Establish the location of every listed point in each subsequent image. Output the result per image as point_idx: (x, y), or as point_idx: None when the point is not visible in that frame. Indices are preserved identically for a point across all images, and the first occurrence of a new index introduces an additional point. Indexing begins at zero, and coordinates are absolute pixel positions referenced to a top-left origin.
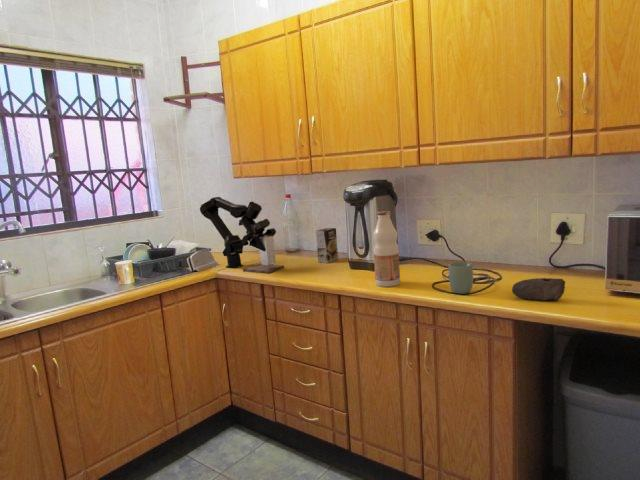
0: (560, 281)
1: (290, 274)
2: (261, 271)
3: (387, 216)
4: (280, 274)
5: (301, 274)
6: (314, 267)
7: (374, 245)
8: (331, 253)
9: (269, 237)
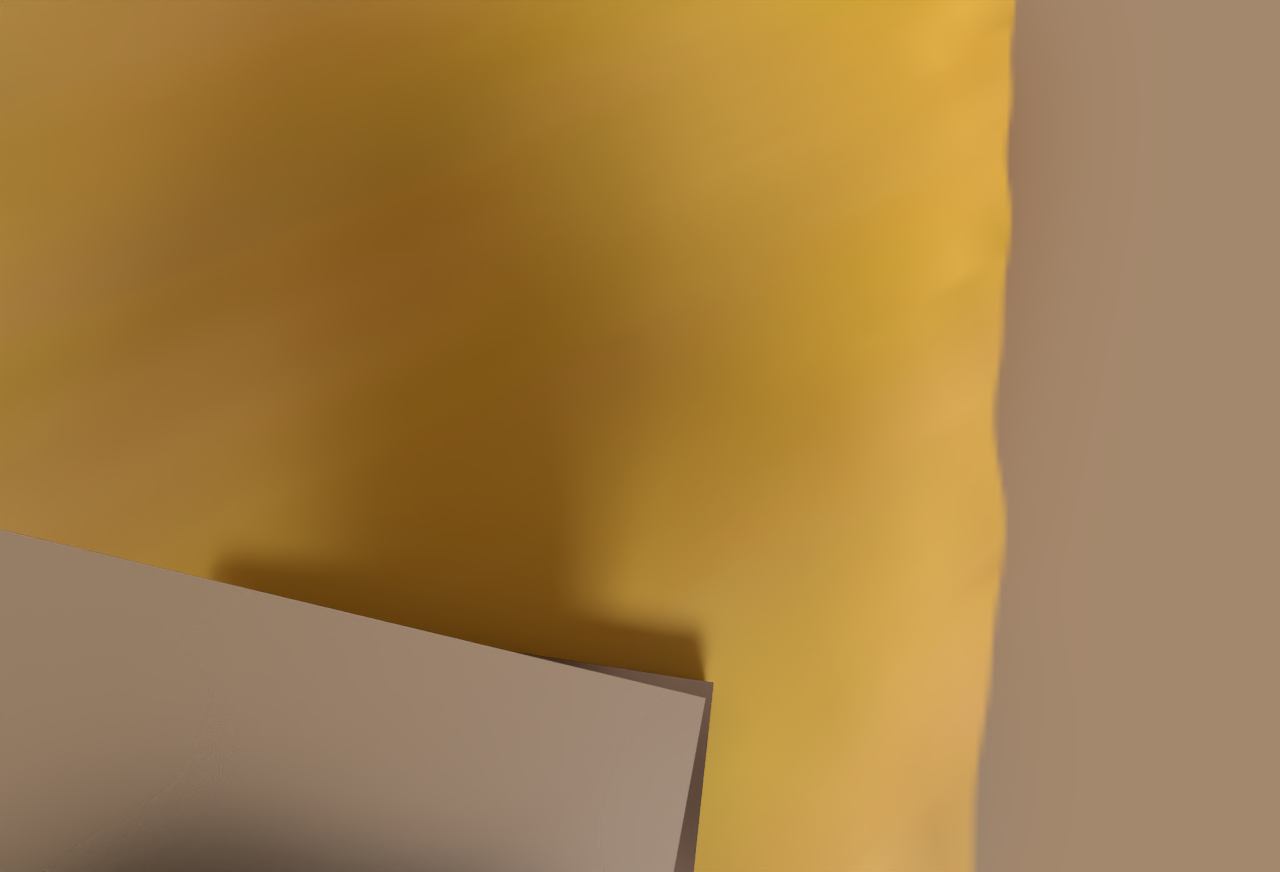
0: None
1: (679, 265)
2: (690, 862)
3: None
4: (707, 418)
5: (652, 122)
6: (213, 113)
7: None
8: None
9: (245, 588)
